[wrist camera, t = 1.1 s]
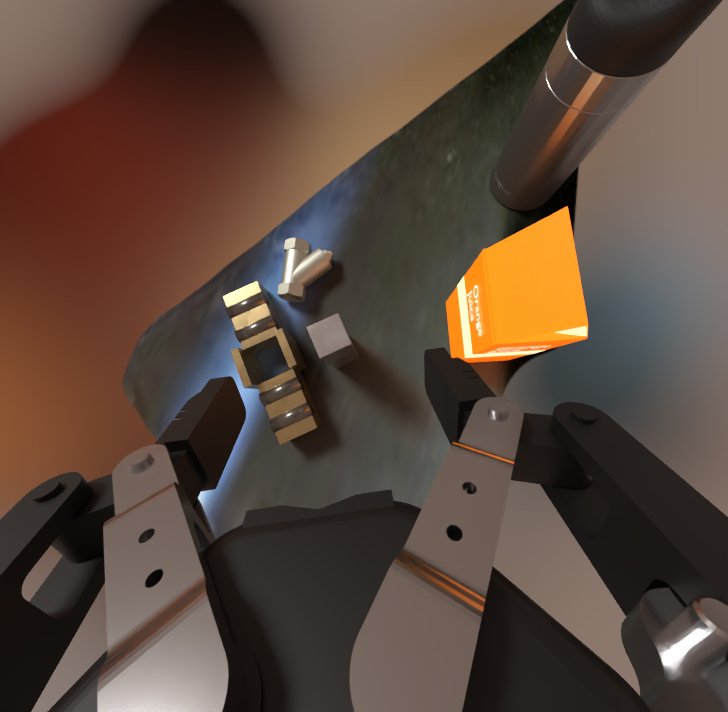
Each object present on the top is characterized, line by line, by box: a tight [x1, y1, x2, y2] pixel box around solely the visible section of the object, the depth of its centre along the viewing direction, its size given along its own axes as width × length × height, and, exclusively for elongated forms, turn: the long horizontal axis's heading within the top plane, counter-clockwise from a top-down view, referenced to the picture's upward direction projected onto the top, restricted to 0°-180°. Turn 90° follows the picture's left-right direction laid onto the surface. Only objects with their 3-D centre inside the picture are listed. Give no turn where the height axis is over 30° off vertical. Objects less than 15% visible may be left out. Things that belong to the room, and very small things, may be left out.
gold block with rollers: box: [223, 281, 323, 444], centre depth 37 cm, size 7×21×5 cm, turn 24°
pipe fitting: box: [278, 238, 333, 302], centre depth 40 cm, size 8×4×7 cm
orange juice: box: [446, 206, 588, 363], centre depth 29 cm, size 8×9×20 cm
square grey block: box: [307, 313, 359, 368], centre depth 34 cm, size 4×4×11 cm
